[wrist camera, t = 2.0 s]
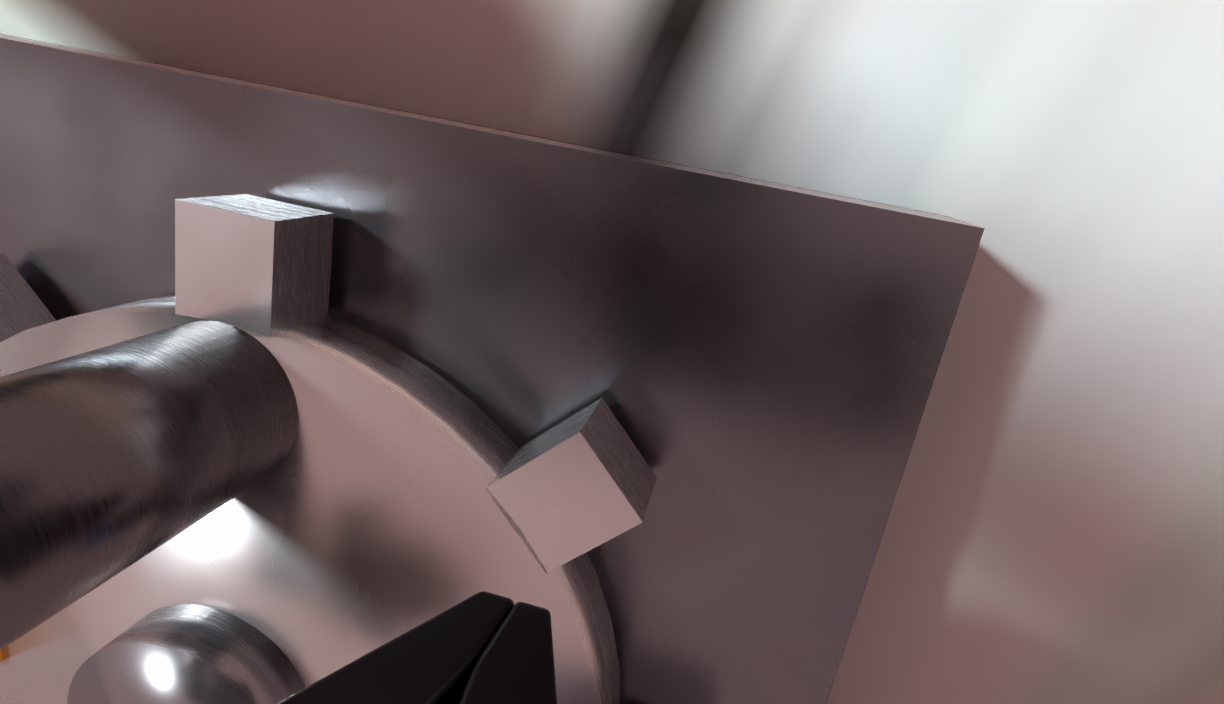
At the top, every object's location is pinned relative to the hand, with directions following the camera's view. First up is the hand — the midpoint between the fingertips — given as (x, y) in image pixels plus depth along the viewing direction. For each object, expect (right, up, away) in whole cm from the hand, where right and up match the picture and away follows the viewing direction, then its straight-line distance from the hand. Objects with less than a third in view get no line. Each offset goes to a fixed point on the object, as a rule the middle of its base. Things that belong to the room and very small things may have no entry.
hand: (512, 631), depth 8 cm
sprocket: (-7, -3, +8) cm, 11 cm away
